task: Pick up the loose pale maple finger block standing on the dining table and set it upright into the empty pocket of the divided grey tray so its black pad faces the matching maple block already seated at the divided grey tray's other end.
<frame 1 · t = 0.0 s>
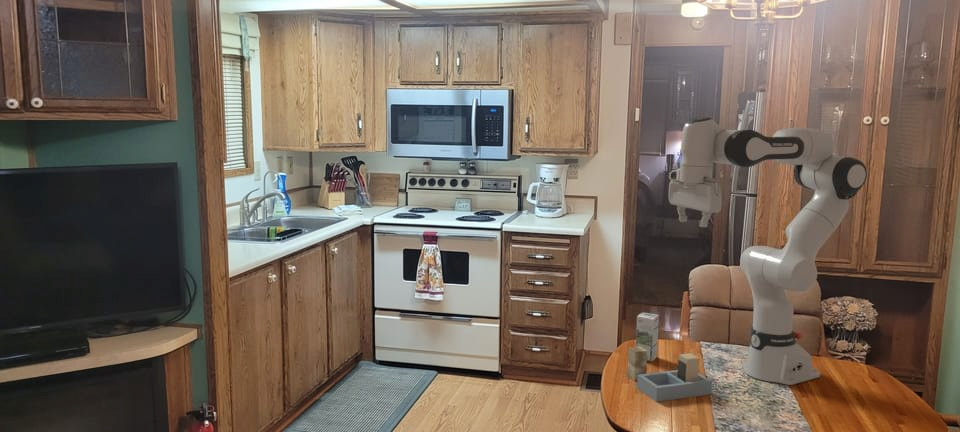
hand: (692, 224, 193), 48 cm above the table, tool pointing down, fingers open, 8 cm apart
syrup box: (645, 358, 222), on the table
divided grey tray: (673, 391, 196), on the table
finger block: (636, 377, 206), on the table
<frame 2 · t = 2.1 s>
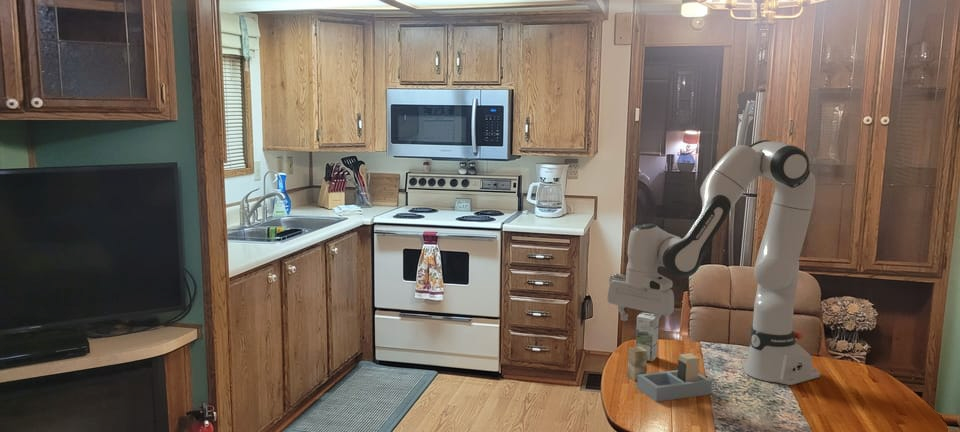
hand: (638, 323, 203), 17 cm above the table, tool pointing down, fingers open, 8 cm apart
nothing on the table moved.
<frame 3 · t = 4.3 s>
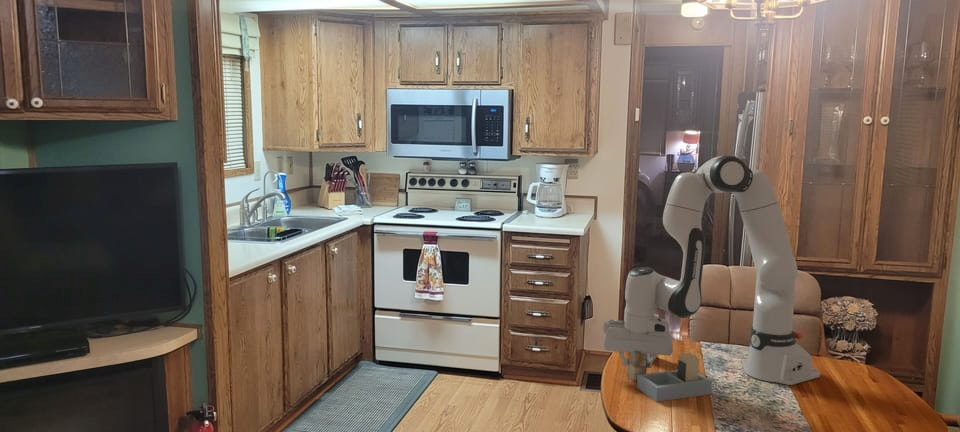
hand: (637, 366, 205), 4 cm above the table, tool pointing down, fingers closed on finger block, 6 cm apart
finger block: (636, 377, 206), on the table, touching gripper
everything else where it was.
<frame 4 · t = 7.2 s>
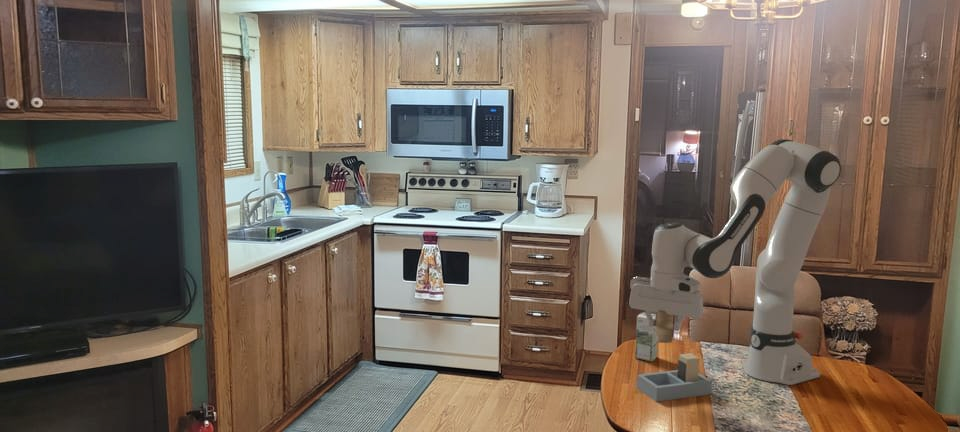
hand: (664, 328, 192), 19 cm above the table, tool pointing down, fingers closed on finger block, 6 cm apart
finger block: (663, 340, 193), point 15 cm above the table, touching gripper
everything else where it was.
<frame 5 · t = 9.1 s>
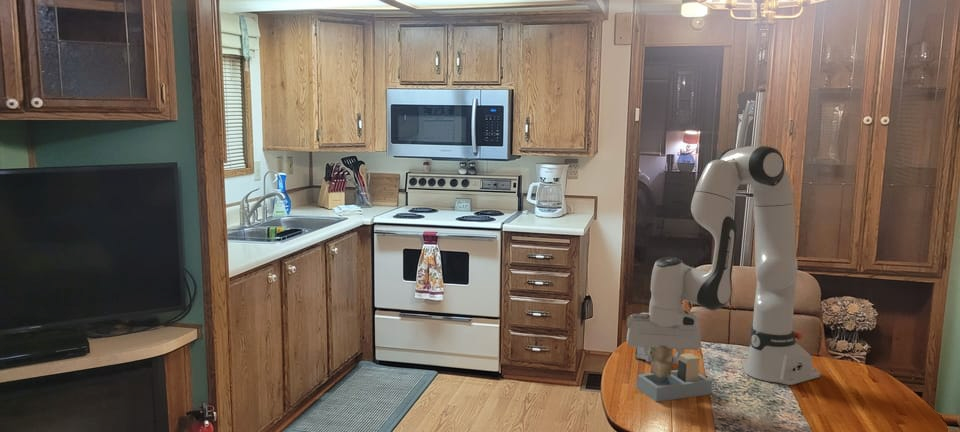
hand: (661, 362, 194), 9 cm above the table, tool pointing down, fingers closed on finger block, 6 cm apart
finger block: (660, 374, 194), point 5 cm above the table, touching gripper
everything else where it was.
when the fingers open (7 cm above the table, at t = 10.5 s): finger block drops 2 cm, resting on divided grey tray.
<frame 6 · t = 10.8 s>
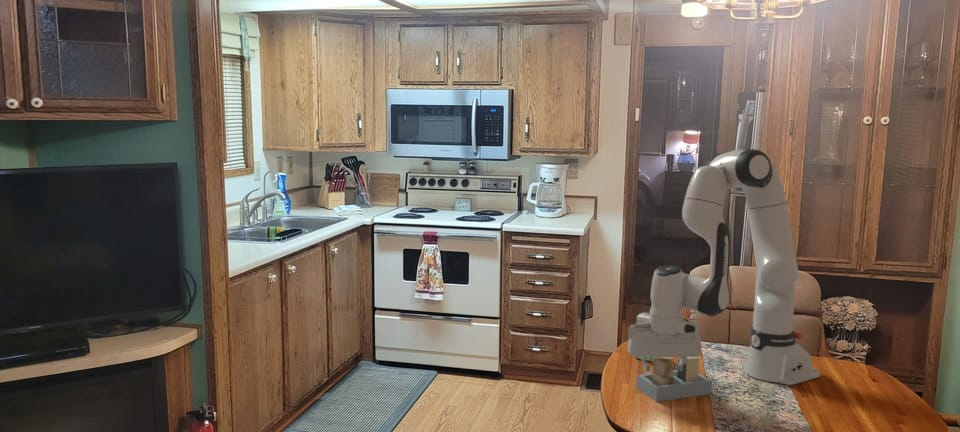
hand: (662, 370, 194), 7 cm above the table, tool pointing down, fingers open, 8 cm apart
finger block: (661, 389, 194), point 1 cm above the table, touching divided grey tray
everything else where it was.
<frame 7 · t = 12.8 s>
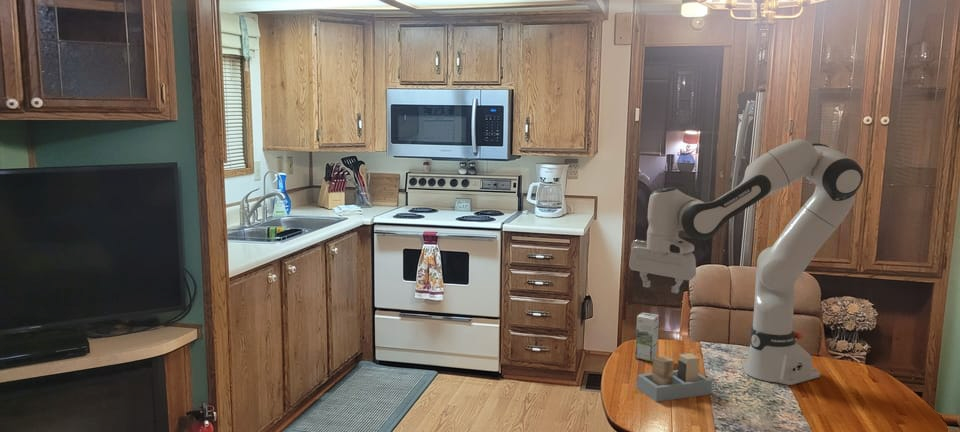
hand: (660, 289, 200), 28 cm above the table, tool pointing down, fingers open, 8 cm apart
nothing on the table moved.
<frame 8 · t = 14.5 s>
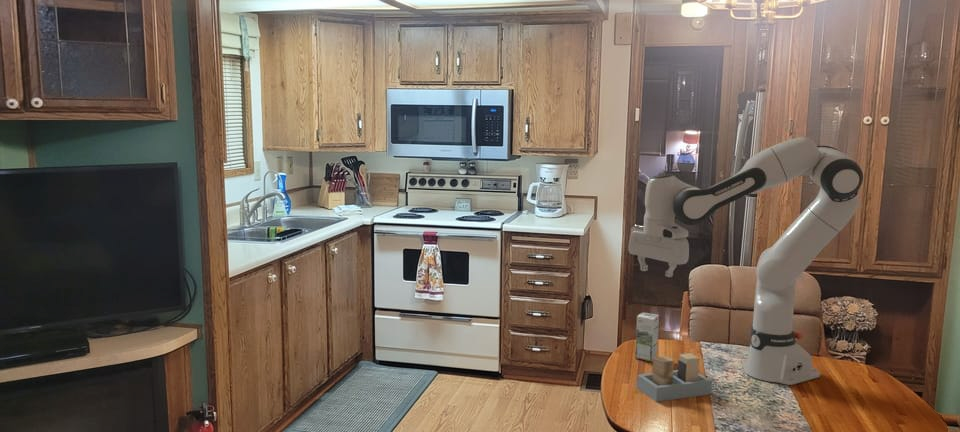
hand: (656, 273, 206), 31 cm above the table, tool pointing down, fingers open, 8 cm apart
nothing on the table moved.
at the end: finger block 0.1 cm from the target spot on the divided grey tray, point 1.0 cm above the divided grey tray's base; finger block tilted 0°; the gripper is holding nothing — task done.
